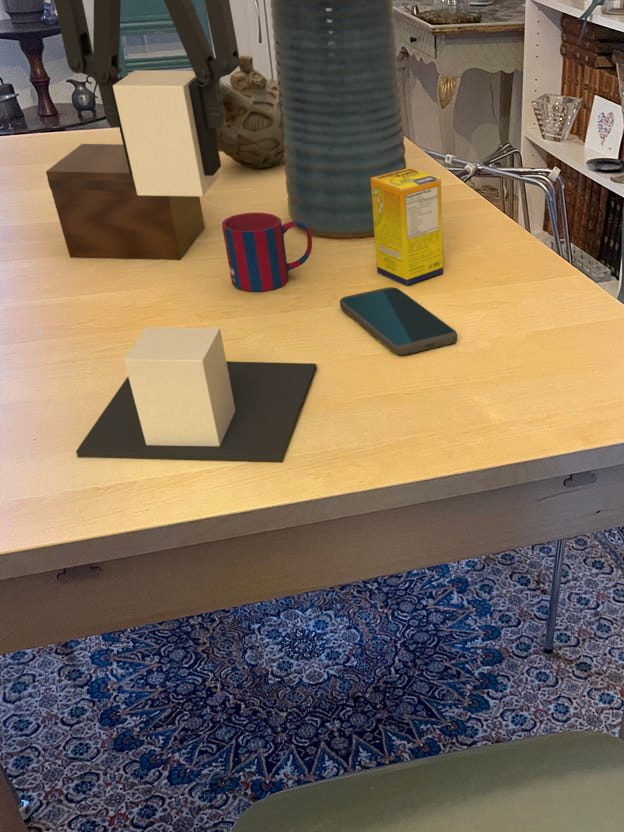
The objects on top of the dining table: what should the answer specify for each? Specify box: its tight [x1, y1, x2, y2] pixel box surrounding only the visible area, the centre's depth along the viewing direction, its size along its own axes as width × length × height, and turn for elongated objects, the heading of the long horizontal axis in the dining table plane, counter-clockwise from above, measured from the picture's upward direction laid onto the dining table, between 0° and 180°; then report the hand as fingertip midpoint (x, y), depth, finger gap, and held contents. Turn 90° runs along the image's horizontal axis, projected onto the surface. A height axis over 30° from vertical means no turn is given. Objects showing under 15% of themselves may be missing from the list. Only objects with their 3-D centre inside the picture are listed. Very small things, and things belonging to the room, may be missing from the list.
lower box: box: [113, 69, 220, 198], centre depth 77 cm, size 6×6×8 cm
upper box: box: [123, 326, 235, 446], centre depth 82 cm, size 6×6×8 cm
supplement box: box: [371, 167, 444, 287], centre depth 110 cm, size 6×6×11 cm
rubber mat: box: [75, 360, 318, 463], centre depth 88 cm, size 18×18×1 cm
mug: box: [221, 212, 313, 293], centre depth 110 cm, size 7×10×7 cm
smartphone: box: [339, 286, 458, 356], centre depth 102 cm, size 8×15×1 cm, turn 31°
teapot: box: [215, 54, 284, 169], centre depth 141 cm, size 21×12×15 cm, turn 159°
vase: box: [269, 0, 407, 239], centre depth 118 cm, size 16×16×32 cm
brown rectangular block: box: [45, 143, 206, 261], centre depth 118 cm, size 14×12×10 cm
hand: (176, 169), depth 78 cm, fingers closed on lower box, 5 cm apart
